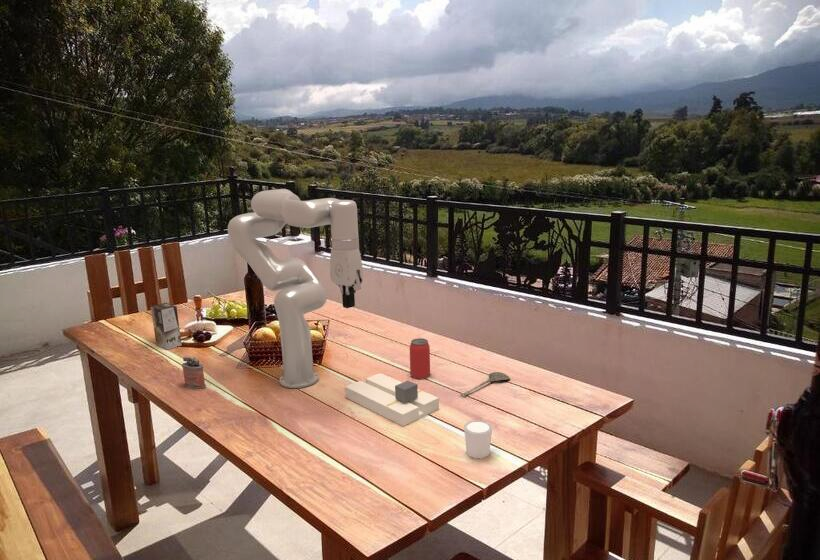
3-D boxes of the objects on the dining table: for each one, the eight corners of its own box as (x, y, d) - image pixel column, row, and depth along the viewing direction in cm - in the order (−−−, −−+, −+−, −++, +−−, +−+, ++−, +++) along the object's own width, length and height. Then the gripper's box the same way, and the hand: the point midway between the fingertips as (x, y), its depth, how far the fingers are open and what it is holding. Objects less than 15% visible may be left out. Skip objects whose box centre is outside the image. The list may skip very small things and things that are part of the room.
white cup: (461, 446, 143) (461, 420, 141) (488, 444, 143) (488, 419, 141) (466, 461, 136) (466, 434, 134) (494, 458, 136) (495, 432, 135)
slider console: (345, 397, 172) (344, 386, 171) (380, 383, 181) (380, 372, 180) (403, 426, 153) (402, 414, 152) (438, 409, 163) (438, 397, 162)
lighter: (208, 386, 182) (204, 357, 180) (200, 390, 179) (196, 361, 177) (189, 382, 186) (186, 354, 183) (181, 386, 183) (178, 357, 180)
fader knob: (395, 406, 162) (395, 385, 160) (408, 401, 165) (407, 380, 163) (405, 411, 159) (404, 389, 157) (418, 405, 162) (417, 384, 160)
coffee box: (182, 345, 221) (177, 305, 217) (166, 350, 216) (160, 309, 212) (171, 340, 226) (166, 302, 223) (155, 345, 222) (149, 305, 218)
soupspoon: (514, 381, 182) (498, 376, 187) (514, 371, 182) (498, 367, 186) (470, 401, 167) (453, 396, 172) (470, 390, 167) (453, 385, 171)
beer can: (428, 380, 182) (427, 345, 179) (408, 379, 184) (407, 344, 181) (431, 372, 189) (431, 338, 186) (412, 371, 190) (411, 337, 187)
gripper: (319, 243, 162) (323, 304, 166) (351, 249, 151) (354, 315, 156) (340, 239, 167) (343, 299, 171) (372, 245, 156) (375, 309, 160)
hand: (348, 306), depth 163 cm, fingers closed
